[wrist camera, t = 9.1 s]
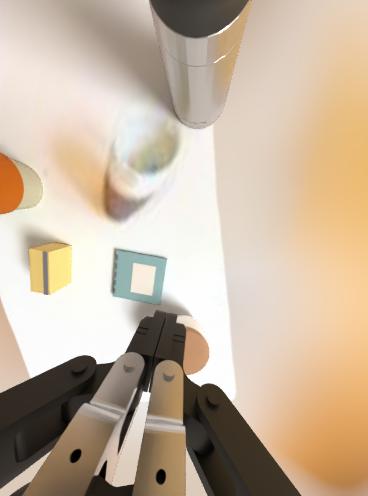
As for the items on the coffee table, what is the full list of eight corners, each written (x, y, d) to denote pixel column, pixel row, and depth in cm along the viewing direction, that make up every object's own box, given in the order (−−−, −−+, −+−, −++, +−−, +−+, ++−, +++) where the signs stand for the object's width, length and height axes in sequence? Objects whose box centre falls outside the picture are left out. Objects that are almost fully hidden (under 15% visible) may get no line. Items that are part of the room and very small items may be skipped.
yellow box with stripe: (54, 242, 39) (28, 248, 33) (71, 245, 39) (48, 252, 32) (54, 279, 41) (30, 291, 35) (71, 282, 41) (49, 295, 35)
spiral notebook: (117, 249, 38) (115, 250, 37) (166, 258, 38) (166, 259, 37) (114, 294, 40) (112, 296, 40) (160, 303, 40) (159, 305, 39)
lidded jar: (216, 324, 40) (222, 358, 31) (189, 353, 43) (186, 392, 34) (179, 297, 39) (174, 324, 30) (153, 329, 42) (141, 363, 33)
